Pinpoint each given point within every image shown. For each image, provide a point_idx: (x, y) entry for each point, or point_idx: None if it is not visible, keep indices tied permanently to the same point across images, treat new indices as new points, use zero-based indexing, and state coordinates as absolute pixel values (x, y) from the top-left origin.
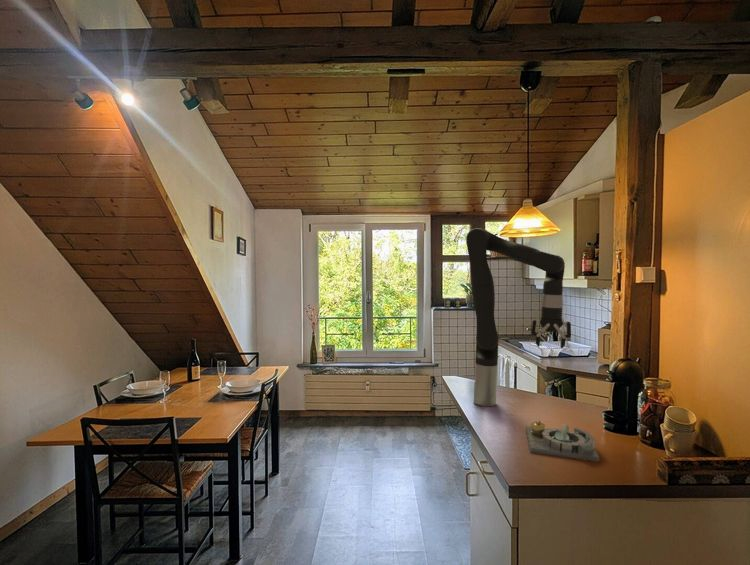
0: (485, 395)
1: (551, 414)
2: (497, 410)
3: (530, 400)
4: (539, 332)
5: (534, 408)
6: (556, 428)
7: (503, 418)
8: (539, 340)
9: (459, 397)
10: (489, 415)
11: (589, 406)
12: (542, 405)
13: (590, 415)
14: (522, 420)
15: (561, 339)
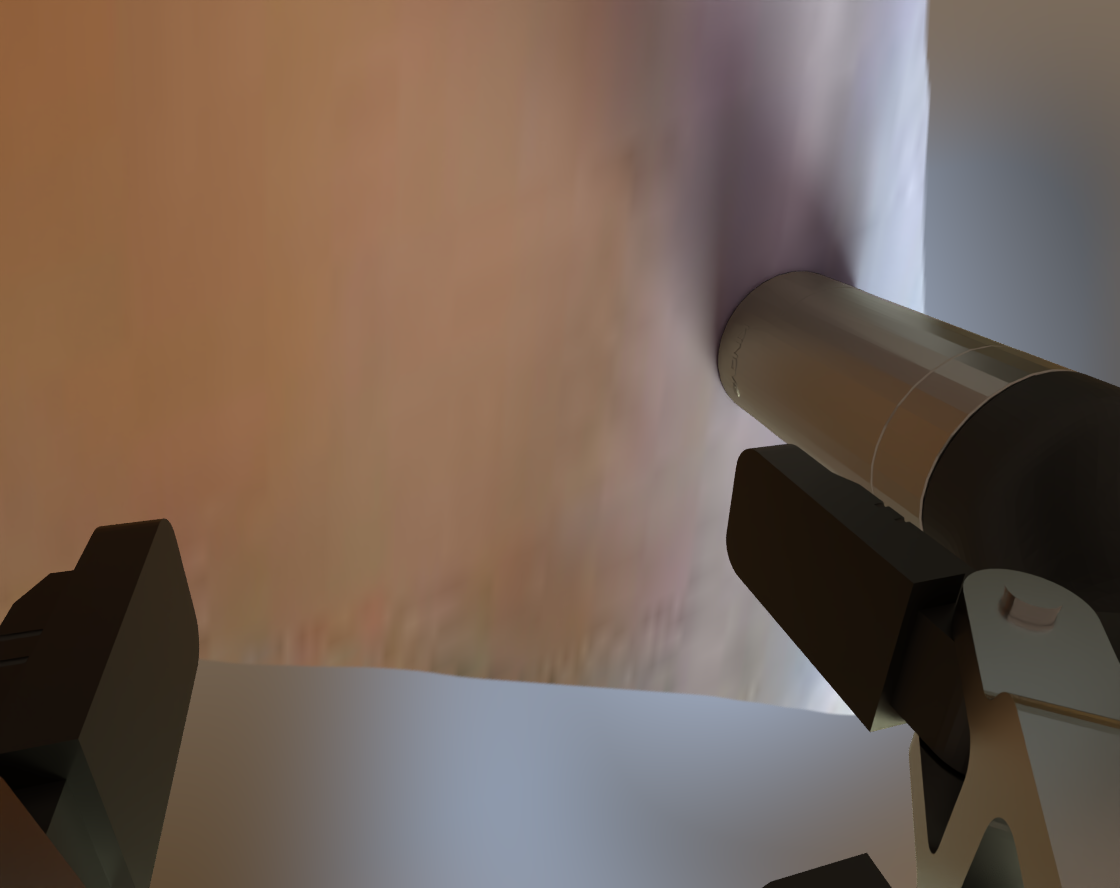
0: (844, 290)
1: (332, 293)
2: (722, 223)
3: (477, 532)
4: (1108, 700)
5: (458, 377)
6: None
7: (702, 51)
8: (849, 521)
9: None
10: (792, 85)
11: None
12: (397, 468)
13: (3, 400)
14: (566, 54)
15: (99, 738)
